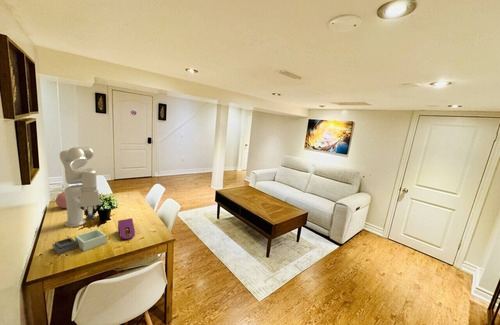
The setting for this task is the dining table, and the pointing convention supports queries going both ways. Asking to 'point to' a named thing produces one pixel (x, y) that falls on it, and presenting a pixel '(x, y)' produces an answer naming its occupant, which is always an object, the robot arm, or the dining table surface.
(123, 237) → the mounting bracket
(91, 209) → the grey rounded piece
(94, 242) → the bin
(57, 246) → the socket block
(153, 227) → the dining table surface
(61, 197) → the balloon
